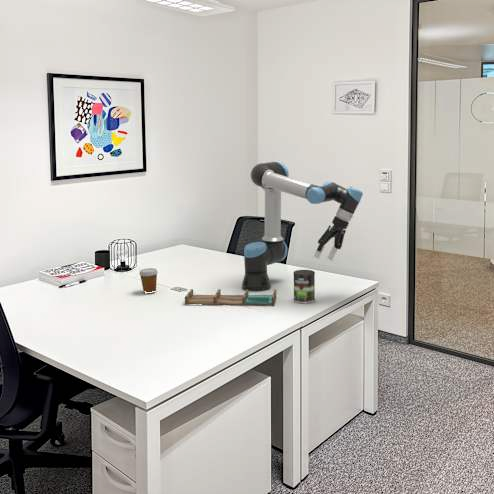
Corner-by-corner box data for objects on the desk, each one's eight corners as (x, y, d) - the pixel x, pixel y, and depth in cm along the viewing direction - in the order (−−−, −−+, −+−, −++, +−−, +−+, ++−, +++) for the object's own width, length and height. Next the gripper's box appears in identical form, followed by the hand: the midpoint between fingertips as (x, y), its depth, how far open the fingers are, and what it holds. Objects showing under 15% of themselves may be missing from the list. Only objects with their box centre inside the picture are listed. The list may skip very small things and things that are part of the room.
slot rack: (191, 296, 301) (191, 289, 300) (276, 297, 295) (276, 289, 294) (185, 305, 287) (184, 297, 286) (274, 305, 281) (273, 297, 281)
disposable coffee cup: (155, 295, 306) (153, 272, 303) (137, 294, 308) (136, 272, 305) (161, 290, 315) (160, 268, 312) (144, 289, 317) (143, 267, 314)
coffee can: (311, 304, 282) (311, 275, 279) (291, 302, 286) (290, 274, 283) (317, 298, 292) (317, 270, 289) (297, 296, 295) (297, 268, 293)
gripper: (336, 218, 270) (316, 260, 275) (359, 225, 291) (340, 263, 295) (323, 212, 275) (304, 252, 279) (347, 218, 295) (328, 256, 299)
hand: (322, 258), depth 287 cm, fingers open, 13 cm apart
